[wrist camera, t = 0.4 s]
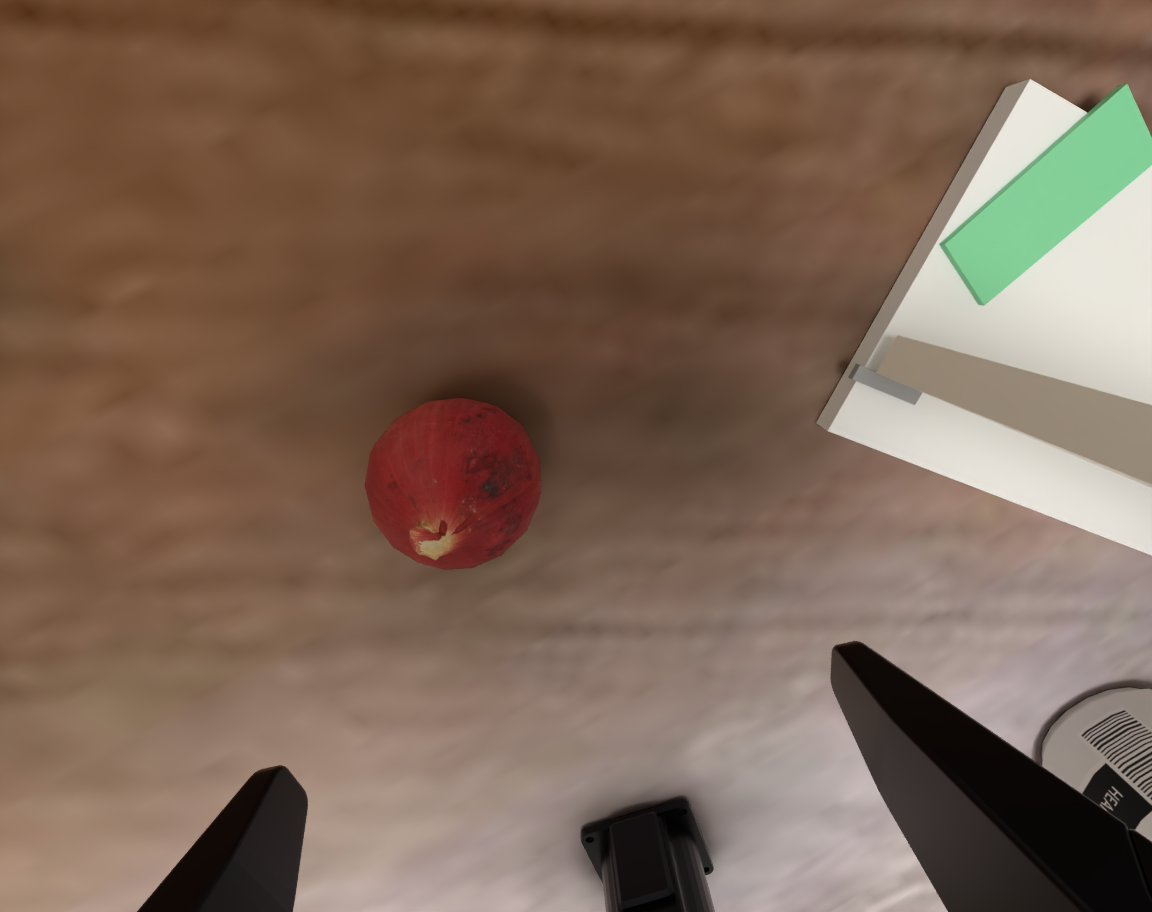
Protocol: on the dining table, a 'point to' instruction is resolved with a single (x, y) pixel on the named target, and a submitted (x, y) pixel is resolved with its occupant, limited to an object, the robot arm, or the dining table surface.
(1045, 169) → the white base board
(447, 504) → the onion
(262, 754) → the dining table surface
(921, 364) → the hinged door panel
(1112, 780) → the supplement can
